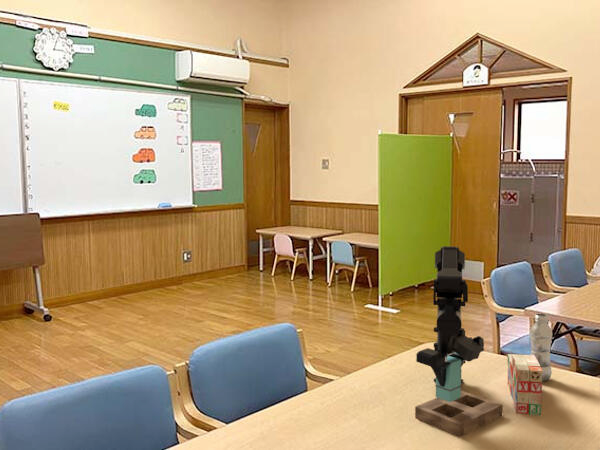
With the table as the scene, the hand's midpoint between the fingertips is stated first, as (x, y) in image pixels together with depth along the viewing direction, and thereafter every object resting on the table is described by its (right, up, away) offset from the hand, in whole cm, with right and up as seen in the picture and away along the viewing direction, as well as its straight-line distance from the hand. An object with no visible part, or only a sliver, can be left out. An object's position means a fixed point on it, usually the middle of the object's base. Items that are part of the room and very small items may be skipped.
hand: (448, 384), depth 149 cm
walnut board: (+4, -10, +4) cm, 11 cm away
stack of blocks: (+25, -8, +15) cm, 30 cm away
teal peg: (0, -4, 0) cm, 4 cm away
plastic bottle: (+35, -7, +28) cm, 46 cm away
